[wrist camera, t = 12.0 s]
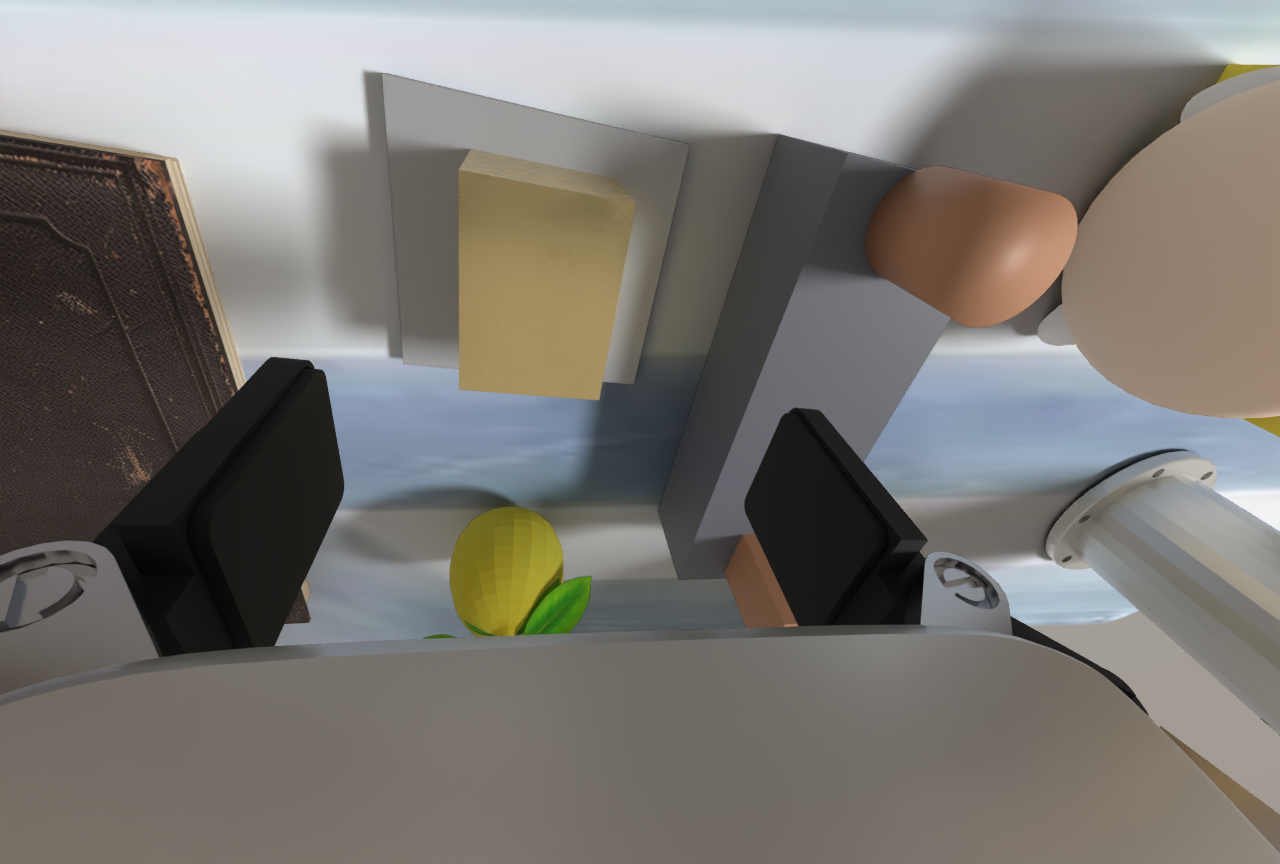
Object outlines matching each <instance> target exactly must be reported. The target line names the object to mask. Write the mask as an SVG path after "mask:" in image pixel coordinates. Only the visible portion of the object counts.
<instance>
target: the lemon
mask: <svg viewBox="0 0 1280 864" xmlns="http://www.w3.org/2000/svg"><path fill="white" fill-rule="evenodd" d="M591 579H592V576H588V577H578V578H575V579H572V580H569V581H566V582H564V583H563V552H562V548H561V544H560V542H559V540H558V537H557V535H556V533H555V531H554V528H553V527H552V525H551V524H550V523H549V522H548V521H547V520H546V519H545V518H543V517H542V516H541V515H539V514H538V513H536V512H534V511H531V510H529V509H526V508H521V507H514V506H512V507H500V508H496V509H493V510H489V511H487V512H485V513H483V514H481V515H480V516H478V517H476V518H475V519H473V520H472V521H471V522H470V523H469V525H468V526H467V527H466V528H465V530H464V531H463V532H462V533H461V535H460V536H459V538H458V540H457V542H456V545H455V548H454V552H453V555H452V559H451V564H450V587H451V593H452V597H453V601H454V605H455V609H456V612H457V614H458V616H459V618H460V620H461V621H462V622H463V624H464V625H465V626H466V627H467V628H468V630H469V631H470V632H471V633H472V634H473V635H475V636H476V637H489V636H515V635H541V634H569V633H570V632H571V631H572V629H573V628H574V627H575V626H576V624H577V623H578V622H579V621H580V620H581V618H582V615H583V613H584V611H585V609H586V607H587V605H588V602H589V598H590V591H591ZM436 638H458V637H454V636H450V635H441V634H440V635H434V636H428V637H425V638H423V639H436Z"/></svg>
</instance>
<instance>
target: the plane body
mask: <svg viewBox="0 0 1280 864" xmlns="http://www.w3.org/2000/svg"><path fill="white" fill-rule="evenodd" d="M1077 228H1078V221H1077V215H1076V211H1075V209H1074V207H1073V205H1072V204H1071V203H1070V201H1069V200H1068V199H1066V198H1065V197H1063V196H1061V195H1059V194H1056V193H1052V192H1048V191H1044V190H1040V189H1036V188H1032V187H1027V186H1023V185H1019V184H1015V183H1011V182H1007V181H1003V180H999V179H995V178H991V177H987V176H983V175H979V174H975V173H970V172H966V171H962V170H958V169H954V168H950V167H946V166H930V167H925V168H922V169H919V170H917V169H914V168H910V167H906V166H902V165H898V164H894V163H890V162H886V161H882V160H878V159H874V158H871V157H867V156H863V155H859V154H855V153H851V152H847V151H843V150H839V149H835V148H831V147H828V146H824V145H820V144H816V143H812V142H808V141H804V140H800V139H796V138H792V137H788V136H785V135H781V134H779V136H778V139H777V142H776V145H775V148H774V151H773V154H772V157H771V160H770V164H769V167H768V170H767V173H766V176H765V179H764V182H763V185H762V188H761V192H760V195H759V198H758V201H757V204H756V207H755V210H754V213H753V216H752V220H751V223H750V226H749V229H748V232H747V235H746V238H745V241H744V244H743V248H742V251H741V254H740V257H739V260H738V263H737V266H736V269H735V273H734V276H733V279H732V282H731V285H730V288H729V291H728V294H727V297H726V301H725V304H724V307H723V310H722V313H721V316H720V319H719V322H718V325H717V329H716V332H715V335H714V338H713V341H712V344H711V347H710V350H709V353H708V357H707V360H706V363H705V366H704V369H703V372H702V375H701V378H700V381H699V385H698V388H697V391H696V394H695V397H694V400H693V403H692V406H691V409H690V413H689V416H688V419H687V422H686V425H685V428H684V431H683V434H682V438H681V441H680V444H679V447H678V450H677V453H676V456H675V459H674V462H673V466H672V469H671V472H670V475H669V478H668V481H667V484H666V487H665V490H664V494H663V497H662V500H661V503H660V506H659V509H658V513H659V517H660V520H661V523H662V527H663V530H664V533H665V537H666V540H667V543H668V547H669V550H670V553H671V557H672V560H673V563H674V567H675V570H676V573H677V577H678V580H686V579H722V578H727V580H728V583H729V585H730V588H731V590H732V593H733V595H734V598H735V600H736V603H737V605H738V608H739V610H740V613H741V616H742V618H743V621H744V623H745V626H746V628H757V627H794V626H798V624H797V622H796V620H795V618H794V616H793V614H792V612H791V609H790V607H789V605H788V603H787V601H786V599H785V597H784V594H783V592H782V590H781V588H780V586H779V584H778V582H777V579H776V577H775V575H774V573H773V571H772V569H771V567H770V565H769V562H768V560H767V558H766V556H765V554H764V552H763V550H762V547H761V545H760V543H759V541H758V539H757V537H756V535H755V533H754V530H753V528H752V526H751V524H750V522H749V520H748V518H747V515H746V513H745V509H744V502H745V498H746V495H747V493H748V491H749V489H750V486H751V484H752V482H753V480H754V477H755V475H756V473H757V471H758V468H759V466H760V464H761V462H762V459H763V457H764V455H765V453H766V450H767V448H768V446H769V444H770V442H771V439H772V437H773V435H774V433H775V430H776V428H777V426H778V424H779V421H780V419H781V417H782V416H783V415H784V414H785V413H789V411H790V410H791V409H793V408H795V407H796V408H806V409H816V410H819V411H821V412H822V413H823V414H824V416H825V417H826V418H827V419H828V420H829V422H830V423H831V424H832V425H833V426H834V428H835V429H836V430H837V431H838V432H839V434H840V435H841V436H842V437H843V438H844V440H845V441H846V442H847V443H848V444H849V446H850V447H851V448H852V449H853V450H854V452H855V453H856V454H857V455H858V457H859V458H860V459H861V460H862V461H863V462H864V461H865V459H866V457H867V456H868V454H869V453H870V451H871V449H872V448H873V446H874V444H875V443H876V441H877V439H878V438H879V436H880V434H881V433H882V431H883V429H884V428H885V426H886V424H887V423H888V421H889V420H890V418H891V416H892V415H893V413H894V411H895V410H896V408H897V406H898V405H899V403H900V401H901V400H902V398H903V396H904V395H905V393H906V391H907V390H908V388H909V387H910V385H911V383H912V382H913V380H914V378H915V377H916V375H917V373H918V372H919V370H920V368H921V367H922V365H923V363H924V362H925V360H926V358H927V357H928V355H929V354H930V352H931V350H932V349H933V347H934V345H935V344H936V342H937V340H938V339H939V337H940V335H941V334H942V332H943V330H944V329H945V327H946V325H947V324H948V322H949V321H950V319H951V318H952V319H953V320H955V321H957V322H958V323H960V324H962V325H965V326H968V327H975V328H980V327H988V326H992V325H996V324H999V323H1001V322H1004V321H1006V320H1008V319H1010V318H1012V317H1014V316H1016V315H1017V314H1019V313H1020V312H1022V311H1024V310H1025V309H1026V308H1028V307H1029V306H1030V305H1031V304H1033V303H1034V302H1035V301H1036V300H1037V299H1038V298H1039V297H1040V296H1041V295H1042V294H1043V293H1045V292H1046V290H1047V289H1048V288H1049V287H1050V286H1051V285H1052V284H1053V282H1054V281H1055V280H1056V278H1057V277H1058V276H1059V274H1060V273H1061V271H1062V270H1063V268H1064V266H1065V265H1066V263H1067V261H1068V259H1069V257H1070V255H1071V252H1072V250H1073V247H1074V244H1075V241H1076V236H1077Z"/></svg>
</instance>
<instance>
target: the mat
mask: <svg viewBox="0 0 1280 864" xmlns="http://www.w3.org/2000/svg"><path fill="white" fill-rule="evenodd" d="M382 80H383V94H384V107H385V121H386V135H387V149H388V162H389V176H390V190H391V203H392V217H393V231H394V244H395V258H396V272H397V285H398V299H399V313H400V326H401V340H402V354H403V364H406V365H417V366H429V367H440V368H452V369H459V168H460V166H461V165H462V163H463V161H464V160H465V158H466V157H467V155H468V153H469V152H470V150H471V149H474V150H478V151H483V152H488V153H493V154H498V155H503V156H508V157H513V158H518V159H523V160H528V161H532V162H537V163H542V164H547V165H552V166H557V167H562V168H567V169H572V170H577V171H582V172H586V173H591V174H596V175H601V176H606V177H611V178H616V179H617V180H618V181H619V182H620V184H621V185H622V186H623V187H624V189H625V190H626V191H627V192H628V194H629V195H630V196H631V197H632V199H633V200H634V201H635V202H636V208H635V214H634V219H633V224H632V230H631V235H630V240H629V245H628V251H627V256H626V261H625V267H624V272H623V277H622V282H621V288H620V293H619V298H618V303H617V309H616V314H615V319H614V325H613V330H612V335H611V340H610V346H609V351H608V356H607V361H606V367H605V372H604V377H603V382H612V383H623V384H634V382H635V377H636V373H637V369H638V364H639V360H640V356H641V352H642V347H643V343H644V339H645V335H646V330H647V326H648V322H649V317H650V313H651V309H652V305H653V300H654V296H655V292H656V288H657V283H658V279H659V275H660V271H661V266H662V262H663V258H664V253H665V249H666V245H667V241H668V236H669V232H670V228H671V224H672V219H673V215H674V211H675V207H676V202H677V198H678V194H679V189H680V185H681V181H682V177H683V172H684V168H685V164H686V160H687V155H688V151H689V147H690V146H689V145H687V144H684V143H680V142H676V141H672V140H667V139H663V138H659V137H655V136H650V135H646V134H642V133H638V132H634V131H629V130H625V129H621V128H617V127H612V126H608V125H604V124H600V123H595V122H591V121H587V120H583V119H578V118H574V117H570V116H566V115H561V114H557V113H553V112H549V111H544V110H540V109H536V108H532V107H527V106H523V105H519V104H515V103H510V102H506V101H502V100H498V99H493V98H489V97H485V96H481V95H476V94H472V93H468V92H464V91H459V90H455V89H451V88H447V87H442V86H438V85H434V84H430V83H426V82H421V81H417V80H413V79H409V78H404V77H400V76H396V75H392V74H387V73H384V74H382Z"/></svg>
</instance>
